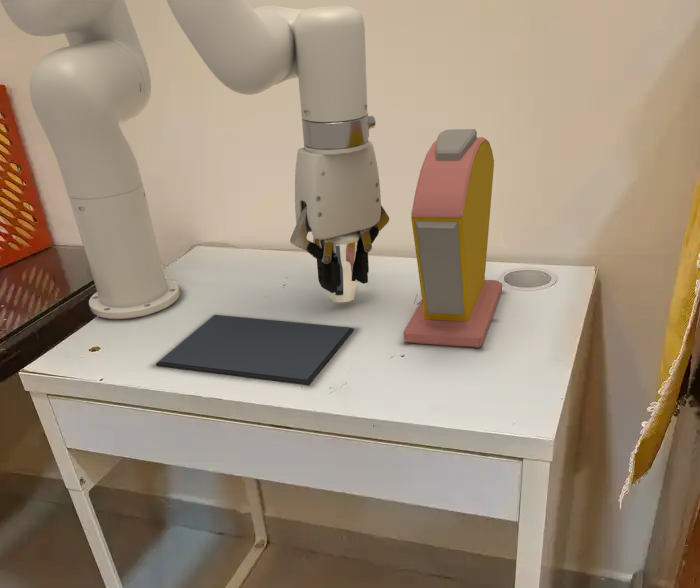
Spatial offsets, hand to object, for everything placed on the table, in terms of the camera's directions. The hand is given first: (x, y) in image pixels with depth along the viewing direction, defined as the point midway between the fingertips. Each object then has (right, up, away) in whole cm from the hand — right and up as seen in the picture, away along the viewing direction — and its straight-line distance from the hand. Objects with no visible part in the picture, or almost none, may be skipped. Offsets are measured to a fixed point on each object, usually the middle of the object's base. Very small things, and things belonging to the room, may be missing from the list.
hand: (344, 283), depth 94 cm
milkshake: (0, -2, +1) cm, 2 cm away
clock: (+14, -5, -3) cm, 15 cm away
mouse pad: (-11, -9, -6) cm, 15 cm away
